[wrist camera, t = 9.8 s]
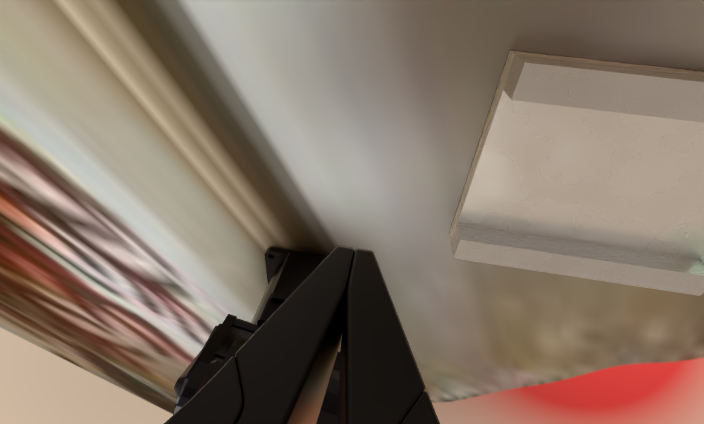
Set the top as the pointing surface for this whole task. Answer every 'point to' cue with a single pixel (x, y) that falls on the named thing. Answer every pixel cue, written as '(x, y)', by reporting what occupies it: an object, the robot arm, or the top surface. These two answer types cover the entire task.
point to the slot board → (590, 174)
